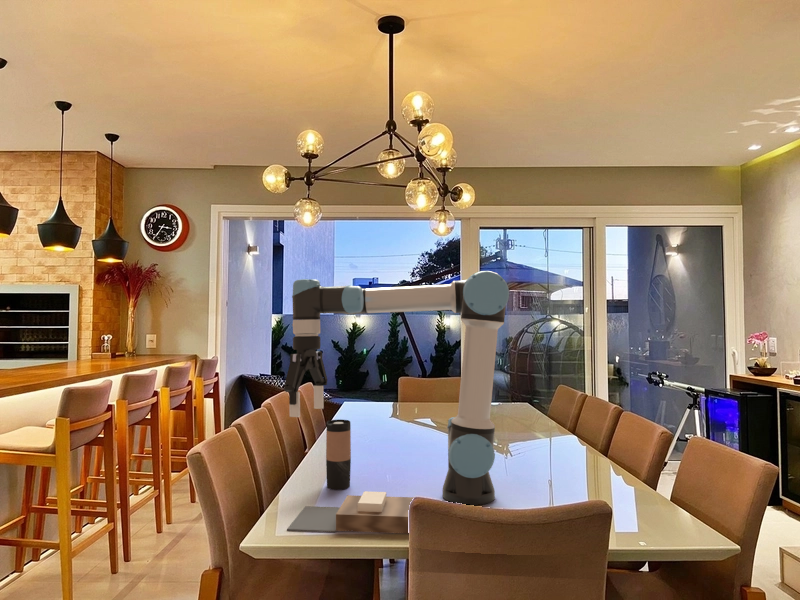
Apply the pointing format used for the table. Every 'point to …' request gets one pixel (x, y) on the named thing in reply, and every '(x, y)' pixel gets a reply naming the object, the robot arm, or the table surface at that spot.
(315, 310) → the robot arm
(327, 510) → the mat
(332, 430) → the travel mug
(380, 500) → the tile
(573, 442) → the table surface
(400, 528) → the wooden block
